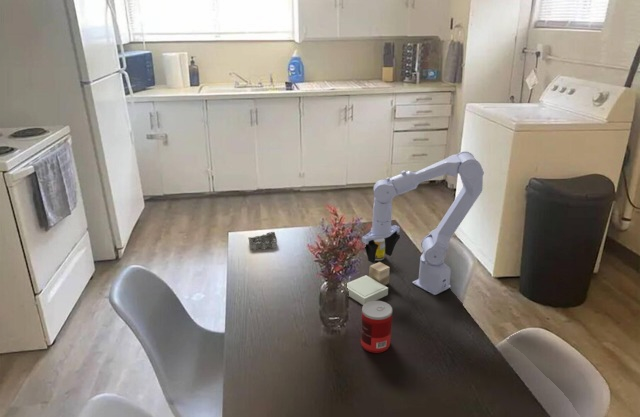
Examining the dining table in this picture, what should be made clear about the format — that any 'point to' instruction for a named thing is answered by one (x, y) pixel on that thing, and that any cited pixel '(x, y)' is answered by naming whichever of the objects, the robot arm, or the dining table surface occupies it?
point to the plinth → (366, 290)
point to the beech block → (379, 273)
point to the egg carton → (263, 238)
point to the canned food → (376, 326)
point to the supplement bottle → (380, 249)
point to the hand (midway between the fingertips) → (379, 258)
